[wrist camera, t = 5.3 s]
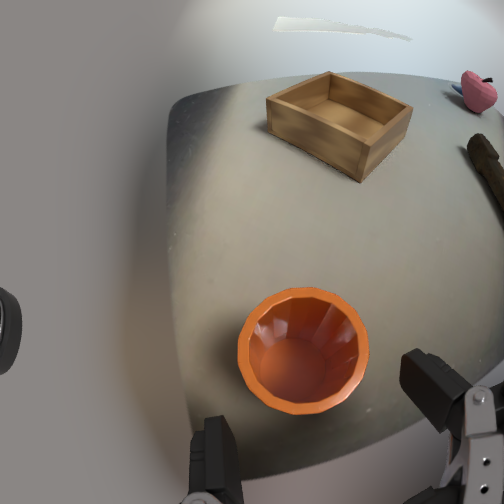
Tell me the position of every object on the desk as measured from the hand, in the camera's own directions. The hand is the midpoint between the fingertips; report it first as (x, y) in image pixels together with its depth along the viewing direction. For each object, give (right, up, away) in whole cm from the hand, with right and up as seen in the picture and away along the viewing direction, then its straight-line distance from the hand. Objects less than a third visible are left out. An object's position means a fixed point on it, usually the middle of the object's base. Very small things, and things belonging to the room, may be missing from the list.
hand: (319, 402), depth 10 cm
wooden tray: (+9, +22, +22) cm, 32 cm away
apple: (+45, +37, +28) cm, 64 cm away
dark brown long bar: (+30, +14, +15) cm, 36 cm away
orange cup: (0, -2, +9) cm, 9 cm away
